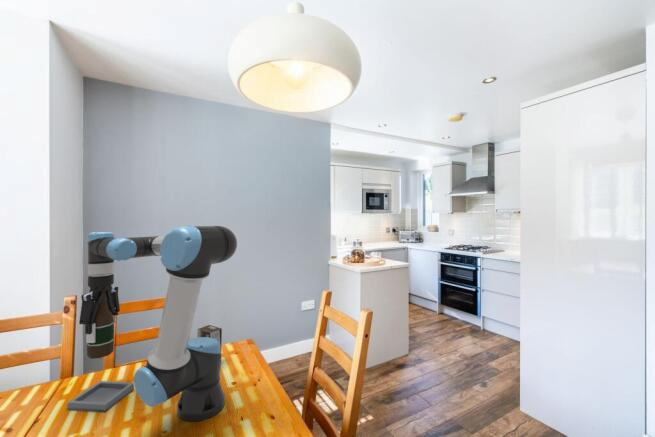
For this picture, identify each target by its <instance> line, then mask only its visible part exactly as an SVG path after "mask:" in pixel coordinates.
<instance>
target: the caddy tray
mask: <svg viewBox="0 0 655 437" xmlns="http://www.w3.org/2000/svg"><path fill="white" fill-rule="evenodd" d="M134 389H135V384H134V382H125V381H124V382H123V381H109V380H106V381H105V380H99V381H98V382H96V383H95V384H93V385H92V386H91V387H89V388H87V389H86V390H84V391H83V392H81V393H79V394H78V395H77V396H75V397H74V398H72V399H71V400H69V401H67V407H66V408H67V411H77V412H78V411H79V412H91V413H92V412H93V413H107V412H108V411H109V410H110V409H112V407H115V405H116V404H118V403H119V402H120V401H121V400H123V399H124V398H125V397H127V395H129V394H130V393H131V392H132V391H134Z"/></svg>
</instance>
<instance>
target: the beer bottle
mask: <svg viewBox="0 0 655 437" xmlns="http://www.w3.org/2000/svg"><path fill="white" fill-rule="evenodd" d="M106 291H107V288H102V289H101V292H105V294H104V296H103V298H102V301H101V304H99V306H98V310H97V313H96V316H95V319H94V322H93V323H96V326H95V343H86V356H87V357H88V358H89V359H91V360H92V359H101V358H105V357H107V356H110V355H111V354H112V353H113V352H114V350H115V349H114V347H115V323H114V317H113V315H112V313H111V312H110V310H109V309H108V305H107V294H106ZM94 302H97V301H94ZM89 321H90V320H89Z"/></svg>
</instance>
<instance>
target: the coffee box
mask: <svg viewBox="0 0 655 437" xmlns="http://www.w3.org/2000/svg"><path fill="white" fill-rule="evenodd" d="M222 332H223V329H222V328H221V327H217V326H215V325H210V324H208V325H205V326H203V327H200V328H197V337H196V338H199V337H208V338H214V339H216V340H218V341H219V343H220V351H221V353H220V366H221V365H222V342H223V341H222V340H223V339H222V338H223V337H222V334H223V333H222Z"/></svg>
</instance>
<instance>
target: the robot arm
mask: <svg viewBox="0 0 655 437" xmlns="http://www.w3.org/2000/svg"><path fill="white" fill-rule="evenodd" d="M87 237H88V238H87V269H88V270H87V274H88V275H89V276H87V286H88V287H89V292H88V293H86V294H82V295H81V296H80V298H81V308H80V313H79V314H80V315H79V321H78V322H79V323H78V324H79V325H84V331H85V332H84V334H85V338H86V341H85V343H86V344H87V343H95V326H96V323H93V322H94V319H95V316H96V313H97V310H98V306H99V304H101V301H102V298H103V296H104V294H105V292H101V289H102V288H107V291H106V294H107V305H108V309H109V310H110V312H111V313H112V315H113V317H114V324H115V322H116V316H118V315H119V312H120V311H121V308H120V299H119V286H113V285H114V282H115V274H114V272H115V261H118V262H120V261H128V260H130V259H136V258H137V259H139V258H145V257H161V258H160V261H161V265H163V267H164V268H165V272H166V273H167V274H168V275H169V282H168V287H167V291H166V295H165V296H166V297H165V300H164V306H163V310H162V311H163V312H162V315H161V320H160V323H159V324H160V325H159V330H158V335H157V340H156V344H155V348H153V349H151V351H150V352H149V353H148V354H147V355H148V356H147V360H146V363H145V365H144V366H140V367H139V368H138V369H137V370H136V371H135V372H134V375H133V376H134V377H133V383H134V389H135V392H136V394H137V395H138V397H139V399H140V400H141V401H142V403H144V404H145V405H146V406H148V407H155V406H156V407H157V406H159V405H160V404H162V403H165V402H167V401H168V400H170V399H172V398H174V397H176V396H177V395H179V394H180V393H181V394H180V396H179V400H178V402H177V405H176V413H177V417H178V418H179V419H181V420H183V421H186V422H201V421H204V420H207V419H211V418H212V417H214V416H216V415H217V414H219V412H221V411H222V409H224V407H225V400H226V398H225V397H226V396H225V393H224V389H223V387H222V384H221V381H220V379H221V365H220V353H221V354H222V350H221V351H220V343H219V341H218V340H216V339H214V338H208V337H199V338H197V337H194V338H193V337H192V338H190V336H191V332H192V328H193V323H194V318H195V313H196V309H197V305H198V300H199V296H200V292H201V286H202V282H203V280H204V279H206V278H208V277H209V275H210V272H211V267H212V265H215V264H220V263H224V262H226V261H228V260H229V259H231V258H232V256H234V254H235V253H236V251H237V247H238V240H237V236H236V235H235V234H234V232H233V231H232V230H231V229H230V228H228V227H225V226H222V225H204V226H203V225H202V226H200V225H199V226H197V225H196V226H195V225H194V226H193V225H185V226H179V227H178V226H177V227H175V228H173V229H171V230H169V231H168V232H167V233H166V234H165V235H155V236H154V235H153V236H137V237H136V236H135V237H115V234H114V232H112V231H97V232H96V231H94V232H93V231H92V232H90V233H89V234H88V236H87ZM95 301H97V302H95ZM89 320H90V321H89Z"/></svg>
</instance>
